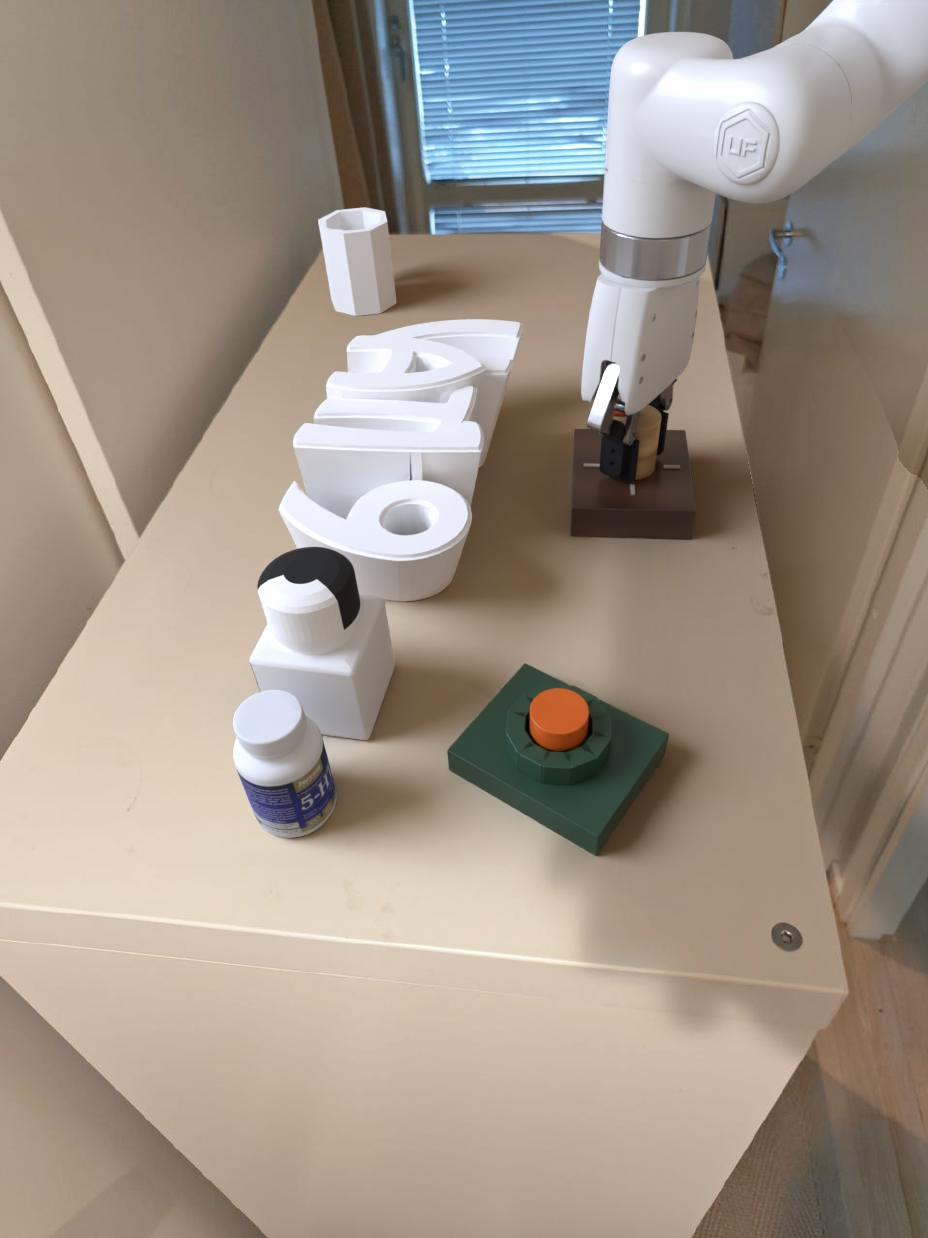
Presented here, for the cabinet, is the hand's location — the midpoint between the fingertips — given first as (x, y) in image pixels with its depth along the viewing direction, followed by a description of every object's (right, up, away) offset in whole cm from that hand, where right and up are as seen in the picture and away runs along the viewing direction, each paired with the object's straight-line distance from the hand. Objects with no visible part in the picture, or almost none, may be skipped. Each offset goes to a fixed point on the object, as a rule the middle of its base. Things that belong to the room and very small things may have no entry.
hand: (631, 460), depth 73 cm
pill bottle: (-25, -25, -18) cm, 40 cm away
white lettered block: (-19, -2, +4) cm, 19 cm away
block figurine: (-24, -19, -12) cm, 33 cm away
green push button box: (-8, -23, -17) cm, 30 cm away
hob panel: (0, -3, +3) cm, 4 cm away
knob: (0, 0, 0) cm, 1 cm away
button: (-9, -20, -20) cm, 30 cm away
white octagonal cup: (-27, +28, +35) cm, 52 cm away
